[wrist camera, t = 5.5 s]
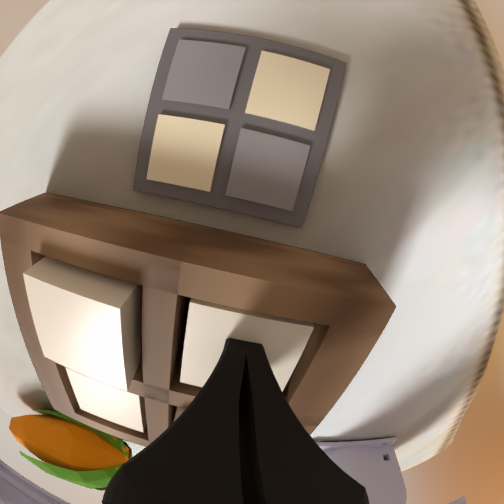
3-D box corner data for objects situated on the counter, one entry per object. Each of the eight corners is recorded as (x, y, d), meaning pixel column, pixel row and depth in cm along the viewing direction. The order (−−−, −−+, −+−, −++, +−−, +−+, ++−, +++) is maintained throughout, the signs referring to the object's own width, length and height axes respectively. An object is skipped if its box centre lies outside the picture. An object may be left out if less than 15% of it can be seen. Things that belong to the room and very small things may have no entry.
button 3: (149, 367, 13) (138, 394, 11) (151, 408, 15) (143, 432, 13) (80, 343, 13) (64, 366, 11) (91, 387, 15) (80, 408, 13)
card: (343, 65, 9) (347, 61, 8) (300, 224, 11) (302, 229, 11) (173, 31, 8) (169, 26, 8) (137, 188, 11) (131, 191, 10)
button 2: (306, 297, 11) (314, 327, 9) (276, 369, 13) (278, 399, 11) (200, 274, 11) (189, 302, 9) (188, 352, 13) (180, 382, 11)
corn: (143, 515, 13) (21, 466, 15) (160, 453, 20) (42, 429, 22) (86, 478, 11) (-19, 426, 13) (120, 406, 18) (9, 389, 20)
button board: (365, 264, 12) (396, 306, 9) (277, 429, 17) (279, 468, 14) (45, 192, 11) (-2, 212, 7) (72, 377, 16) (53, 409, 13)
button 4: (141, 278, 10) (119, 309, 8) (141, 359, 11) (127, 391, 9) (51, 251, 9) (23, 272, 7) (63, 331, 11) (44, 356, 9)
